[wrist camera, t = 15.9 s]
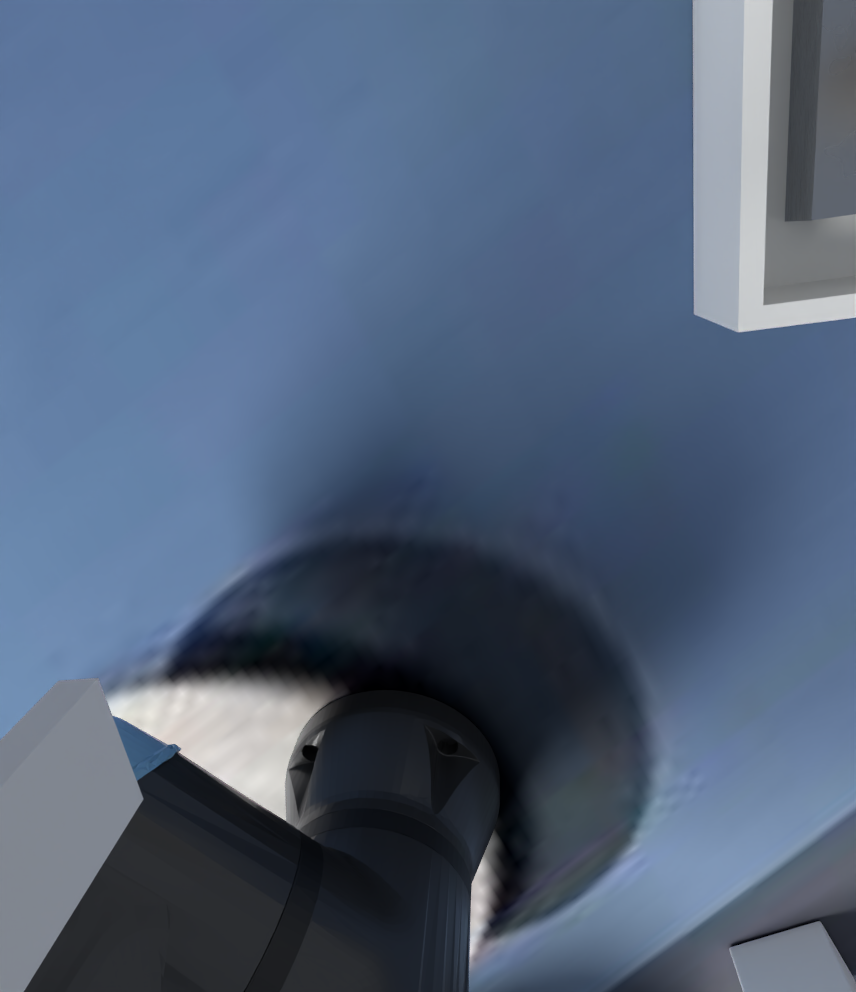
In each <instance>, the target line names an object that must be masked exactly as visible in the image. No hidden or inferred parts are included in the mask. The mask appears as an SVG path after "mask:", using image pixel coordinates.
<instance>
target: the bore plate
mask: <svg viewBox="0 0 856 992" xmlns="http://www.w3.org/2000/svg"><path fill="white" fill-rule="evenodd" d="M853 214H856V0H794V2H793V27H792V52H791V77H790V101H789V126H788V151H787V175H786V200H785V222H787V221H812V220H818V219H825V218H832V217H839V216H846V215H853Z"/></svg>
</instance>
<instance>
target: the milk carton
mask: <svg viewBox="0 0 856 992" xmlns="http://www.w3.org/2000/svg"><path fill="white" fill-rule="evenodd" d="M729 949H730V953H731V956H732V959H733V962H734V965H735V968H736V971H737V974H738V977H739V980H740V983H741V986H742V989H743V992H856V982H855V980H854V978H853V976H852V974H851V972H850V971H849V969H848V967H847V965H846V964H845V962H844V960H843V959H842V957H841V955H840V954H839V952H838V950H837V948H836V947H835V945H834V943H833V942H832V940H831V938H830V936H829V935H828V933H827V931H826V930H825V928H824V926H823V925H822V923H821V922H820V921H817V922H814V923H810V924H807V925H803V926H800V927H796V928H793V929H790V930H786V931H783V932H780V933H776V934H773V935H770V936H766V937H763V938H760V939H756V940H753V941H750V942H746V943H743V944H740V945H736V946H733V947H730V948H729Z"/></svg>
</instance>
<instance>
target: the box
mask: <svg viewBox="0 0 856 992" xmlns="http://www.w3.org/2000/svg"><path fill="white" fill-rule="evenodd" d="M793 2H794V0H693V207H694V315H697V316H699V317H702V318H704V319H707V320H709V321H711V322H714V323H716V324H719V325H721V326H724V327H726V328H729V329H731V330H734V331H736V332H745V331H753V330H761V329H769V328H777V327H785V326H793V325H801V324H809V323H817V322H825V321H832V320H840V319H848V318H856V214H853V215H846V216H839V217H832V218H825V219H818V220H812V221H787V222H785V200H786V175H787V151H788V126H789V101H790V77H791V52H792V27H793Z"/></svg>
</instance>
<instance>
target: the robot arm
mask: <svg viewBox="0 0 856 992" xmlns="http://www.w3.org/2000/svg"><path fill="white" fill-rule="evenodd" d="M180 750H181V748H180V747H178V746H177V745H175V744H171V745H167V744H165V743H163V742H162V741H160V740H158V739H156V738H155V737H153V736H151V735H149V734H147V733H146V732H144V731H142V730H140V729H139V728H137V727H135V726H133V725H131V724H130V723H128V722H126V721H124V720H123V719H120V718H118V717H114V716H112V714H111V711H110V708H109V706H108V703H107V700H106V698H105V695H104V692H103V690H102V687H101V684H100V682H99V679H98V678H93V679H78V680H63V681H58V682H57V683H56V684H55V685H54V686H53V687H52V688H51V689H50V690H49V691H48V692H47V693H46V694H45V695H44V696H43V697H42V698H41V699H40V700H39V701H38V702H37V703H36V704H35V705H34V706H33V707H32V708H31V709H30V710H29V711H28V712H27V714H26V715H25V716H24V717H23V718H22V719H21V720H20V721H19V722H18V723H17V724H16V725H15V726H14V727H13V728H12V729H11V730H10V731H9V732H8V733H7V734H6V735H5V736H4V737H3V738H2V739H1V740H0V992H469V950H470V907H471V906H470V905H471V884H472V881H473V879H474V876H475V874H476V872H477V869H478V867H479V864H480V862H481V859H482V857H483V855H484V852H485V850H486V847H487V845H488V843H489V840H490V838H491V835H492V833H493V831H494V828H495V825H496V822H497V818H498V813H499V807H500V774H499V767H498V763H497V760H496V757H495V754H494V752H493V750H492V748H491V746H490V744H489V743H488V741H487V739H486V738H485V737H484V735H483V734H482V733H481V732H480V730H479V729H478V728H477V727H476V726H475V725H474V724H473V723H472V722H471V721H470V720H469V719H467V718H466V717H465V716H463V715H462V714H461V713H459V712H458V711H456V710H455V709H453V708H451V707H450V706H448V705H446V704H444V703H442V702H440V701H437V700H435V699H432V698H429V697H427V696H423V695H420V694H416V693H411V692H405V691H396V690H375V691H366V692H361V693H356V694H353V695H349V696H346V697H344V698H341V699H339V700H337V701H334V702H333V703H331V704H329V705H327V706H326V707H324V708H323V709H321V710H320V711H319V712H318V713H316V714H315V715H314V716H313V717H312V718H311V719H310V721H309V722H308V723H307V724H306V726H305V727H304V728H303V730H302V732H301V733H300V736H299V738H298V740H297V743H296V745H295V748H294V750H293V753H292V755H291V758H290V761H289V764H288V768H287V773H286V781H285V794H286V821H285V820H283V819H281V818H280V817H278V816H277V815H275V814H273V813H272V812H270V811H269V810H267V809H265V808H264V807H262V806H261V805H259V804H258V803H256V802H254V801H253V800H251V799H250V798H248V797H246V796H245V795H243V794H242V793H240V792H238V791H237V790H235V789H234V788H232V787H230V786H229V785H227V784H226V783H224V782H223V781H221V780H220V779H218V778H217V777H215V776H214V775H212V774H211V773H209V772H208V771H206V770H204V769H203V768H201V767H200V766H198V765H197V764H195V763H194V762H192V761H191V760H189V759H188V758H186V757H185V756H183V755H182V754H180V753H179V751H180Z"/></svg>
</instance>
